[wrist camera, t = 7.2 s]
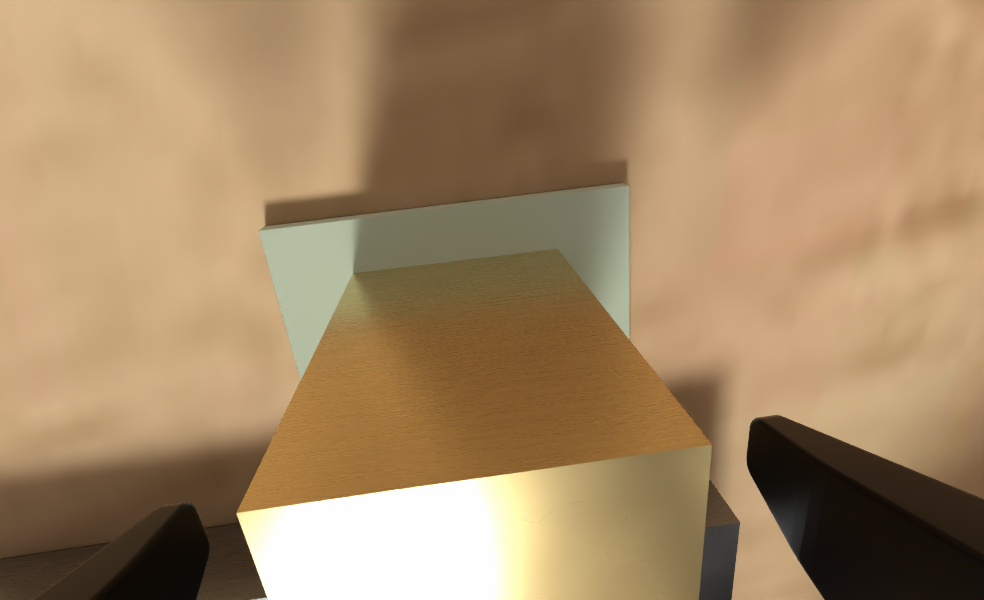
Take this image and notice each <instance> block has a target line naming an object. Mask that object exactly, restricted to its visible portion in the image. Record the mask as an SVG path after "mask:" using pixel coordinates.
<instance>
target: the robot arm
mask: <svg viewBox="0 0 984 600" xmlns="http://www.w3.org/2000/svg"><path fill="white" fill-rule="evenodd" d="M747 466H748V469H749V472H750V474H751V476H752V478H753V480H754V482H755V483H756V485H757V487H758V489H759V491H760V493H761V494H762V496H763V498H764V500H765V502H766V503H767V505H768V507H769V509H770V511H771V513H772V514H773V516H774V518H775V520H776V522H777V523H778V525H779V527H780V529H781V531H782V533H783V534H784V536H785V538H786V540H787V542H788V543H789V545H790V547H791V549H792V550H793V552H794V554H795V556H796V557H797V559H798V561H799V562H800V564H801V565H802V567H803V568H804V570H805V571H806V573H807V574H808V576H809V577H810V579H811V580H812V582H813V583H814V585H815V586H816V588H817V589H818V591H819V592H820V594H821V595H822V597H823V598H824V599H825V600H984V499H982V498H979V497H977V496H974V495H972V494H970V493H967V492H965V491H962V490H960V489H957V488H955V487H953V486H950V485H948V484H945V483H943V482H940V481H938V480H936V479H933V478H931V477H928V476H926V475H923V474H921V473H919V472H916V471H914V470H911V469H909V468H906V467H904V466H902V465H899V464H897V463H894V462H892V461H889V460H887V459H885V458H882V457H880V456H877V455H875V454H872V453H870V452H868V451H865V450H863V449H860V448H858V447H855V446H853V445H850V444H848V443H846V442H843V441H841V440H838V439H836V438H833V437H831V436H829V435H826V434H824V433H821V432H819V431H816V430H814V429H812V428H809V427H807V426H804V425H802V424H799V423H797V422H795V421H792V420H790V419H787V418H785V417H782V416H779V415H773V416H766V417H759V418H755V419H754V420H753V421H752V422H751V425H750V431H749V440H748V449H747ZM208 557H209V540H208V537H207V535H206V532H205V530H204V528H203V525H202V523H201V520H200V518H199V516H198V513H197V511H196V509H195V507H194V506H193V505H192V504H191V503H189V502H181V503H174V504H167V505H163V506H160V507H158V508H157V509H156V510H154V511H153V512H151V513H150V514H149V515H147V516H146V517H145V518H143V519H142V520H141V521H139V522H138V523H137V524H135V525H134V526H133V527H131V528H130V529H128V530H127V531H126V532H124V533H123V534H122V535H120V536H119V537H118V538H116V539H115V540H114V541H112V542H111V543H109V544H108V545H107V546H105V547H104V548H103V549H101V550H100V551H99V552H97V553H96V554H95V555H93V556H92V557H90V558H89V559H88V560H86V561H85V562H84V563H82V564H81V565H80V566H78V567H77V568H76V569H74V570H73V571H71V572H70V573H69V574H67V575H66V576H65V577H63V578H62V579H61V580H59V581H58V582H57V583H55V584H54V585H52V586H51V587H50V588H48V589H47V590H46V591H44V592H43V593H42V594H40V595H39V596H38V597H36V598H35V599H33V600H197V597H198V593H199V590H200V586H201V582H202V579H203V575H204V572H205V568H206V564H207V561H208Z"/></svg>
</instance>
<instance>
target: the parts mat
mask: <svg viewBox="0 0 984 600" xmlns="http://www.w3.org/2000/svg"><path fill="white" fill-rule="evenodd" d="M629 216H630V186H629V185H627V184H625V183H618V184H610V185H602V186H594V187H585V188H577V189H569V190H561V191H552V192H544V193H536V194H528V195H519V196H511V197H503V198H495V199H486V200H478V201H470V202H462V203H453V204H445V205H437V206H429V207H420V208H412V209H404V210H396V211H387V212H379V213H371V214H363V215H354V216H346V217H338V218H330V219H321V220H313V221H305V222H297V223H288V224H280V225H272V226H264V227H263V228H262V229H260V230H259V235H260V238H261V242H262V245H263V249H264V252H265V256H266V259H267V263H268V267H269V270H270V274H271V277H272V281H273V284H274V288H275V291H276V295H277V298H278V302H279V305H280V309H281V312H282V316H283V319H284V323H285V327H286V330H287V334H288V337H289V341H290V344H291V348H292V351H293V355H294V358H295V362H296V365H297V369H298V372H299V376H300V379H302V377H303V375H304V373H305V371H306V369H307V367H308V364H309V362H310V360H311V358H312V356H313V354H314V352H315V350H316V348H317V346H318V344H319V342H320V340H321V338H322V336H323V334H324V332H325V330H326V327H327V325H328V323H329V321H330V319H331V317H332V315H333V313H334V311H335V309H336V307H337V305H338V303H339V301H340V299H341V297H342V295H343V293H344V290H345V288H346V286H347V284H348V282H349V280H350V278H351V276H352V274H353V273H359V272H367V271H376V270H384V269H392V268H401V267H409V266H417V265H426V264H434V263H443V262H451V261H459V260H468V259H476V258H484V257H493V256H501V255H510V254H518V253H526V252H535V251H543V250H552V249H558V250H559V251H560V252H561V254H562V255H563V256H564V257H565V259H566V260H567V261H568V262H569V264H570V265H571V266H572V268H573V269H574V270H575V271H576V273H577V274H578V275H579V276H580V278H581V279H582V280H583V282H584V283H585V284H586V285H587V287H588V288H589V289H590V290H591V292H592V293H593V294H594V295H595V297H596V298H597V299H598V301H599V302H600V303H601V304H602V306H603V307H604V308H605V309H606V311H607V312H608V313H609V314H610V316H611V317H612V318H613V320H614V321H615V322H616V323H617V325H618V326H619V327H620V328H621V330H622V331H623V332H624V333H625V335H626V336H627V337H628V339H629Z"/></svg>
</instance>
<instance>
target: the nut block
mask: <svg viewBox="0 0 984 600" xmlns="http://www.w3.org/2000/svg"><path fill="white" fill-rule="evenodd" d="M711 453H712V444H711V443H710V441H709V440H708V439H707V437H706V436H705V435H704V434H703V432H702V431H701V430H700V429H699V427H698V426H697V425H696V424H695V422H694V421H693V420H692V418H691V417H690V416H689V415H688V413H687V412H686V411H685V410H684V408H683V407H682V406H681V404H680V403H679V402H678V401H677V399H676V398H675V397H674V396H673V394H672V393H671V392H670V391H669V389H668V388H667V387H666V385H665V384H664V383H663V382H662V380H661V379H660V378H659V377H658V375H657V374H656V373H655V372H654V370H653V369H652V368H651V366H650V365H649V364H648V363H647V361H646V360H645V359H644V358H643V356H642V355H641V354H640V353H639V351H638V350H637V349H636V347H635V346H634V345H633V344H632V342H631V341H630V340H629V339H628V337H627V336H626V335H625V333H624V332H623V331H622V330H621V328H620V327H619V326H618V325H617V323H616V322H615V321H614V320H613V318H612V317H611V316H610V314H609V313H608V312H607V311H606V309H605V308H604V307H603V306H602V304H601V303H600V302H599V301H598V299H597V298H596V297H595V295H594V294H593V293H592V292H591V290H590V289H589V288H588V287H587V285H586V284H585V283H584V282H583V280H582V279H581V278H580V276H579V275H578V274H577V273H576V271H575V270H574V269H573V268H572V266H571V265H570V264H569V262H568V261H567V260H566V259H565V257H564V256H563V255H562V254H561V252H560V251H559V250H558V249H552V250H543V251H535V252H526V253H518V254H510V255H501V256H493V257H484V258H476V259H468V260H459V261H451V262H443V263H434V264H426V265H417V266H409V267H401V268H392V269H384V270H376V271H367V272H359V273H353V274H352V276H351V278H350V280H349V282H348V284H347V286H346V288H345V290H344V293H343V295H342V297H341V299H340V301H339V303H338V305H337V307H336V309H335V311H334V313H333V315H332V317H331V319H330V321H329V323H328V325H327V327H326V330H325V332H324V334H323V336H322V338H321V340H320V342H319V344H318V346H317V348H316V350H315V352H314V354H313V356H312V358H311V360H310V362H309V364H308V367H307V369H306V371H305V373H304V375H303V377H302V379H301V381H300V383H299V385H298V387H297V389H296V391H295V393H294V395H293V397H292V399H291V401H290V404H289V406H288V408H287V410H286V412H285V414H284V416H283V418H282V420H281V422H280V424H279V426H278V428H277V430H276V432H275V434H274V436H273V439H272V441H271V443H270V445H269V447H268V449H267V451H266V453H265V455H264V457H263V459H262V461H261V463H260V465H259V467H258V469H257V471H256V473H255V476H254V478H253V480H252V482H251V484H250V486H249V488H248V490H247V492H246V494H245V496H244V498H243V500H242V502H241V504H240V506H239V508H238V510H237V513H236V514H237V517H238V519H239V522H240V525H241V527H242V530H243V533H244V535H245V538H246V541H247V543H248V546H249V549H250V552H251V554H252V557H253V560H254V562H255V565H256V568H257V570H258V573H259V576H260V578H261V581H262V584H263V587H264V589H265V592H266V595H267V597H268V600H699V591H700V580H701V568H702V557H703V545H704V534H705V522H706V511H707V499H708V488H709V476H710V465H711Z"/></svg>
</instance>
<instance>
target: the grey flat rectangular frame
mask: <svg viewBox="0 0 984 600" xmlns="http://www.w3.org/2000/svg"><path fill="white" fill-rule="evenodd" d="M739 526H740V522H739V520H738V519H737V517H736V516H735V515H734V513H733V512H732V510H731V509H730V507H729V506H728V505H727V503H726V502H725V500H724V499H723V498H722V496H721V495H720V493H719V492H718V491H717V489H716V488H715V486H714V485H713V484H712V482H711V481H710V479H709V488H708V499H707V511H706V522H705V534H704V545H703V557H702V568H701V580H700V591H699V600H731V598H732V589H733V580H734V571H735V562H736V553H737V544H738V535H739ZM204 530H205V532H206V535H207V537H208V540H209V557H208V561H207V564H206V568H205V572H204V575H203V579H202V582H201V586H200V590H199V593H198V597H197V600H268V597H267V595H266V592H265V589H264V587H263V584H262V581H261V578H260V576H259V573H258V570H257V568H256V565H255V562H254V560H253V557H252V554H251V552H250V549H249V546H248V543H247V541H246V538H245V535H244V533H243V530H242V527H241V525H240V523H238V524H232V525H225V526H219V527H212V528H205V529H204ZM108 544H109V543H106V544H100V545H93V546H86V547H80V548H73V549H66V550H60V551H53V552H47V553H40V554H33V555H27V556H20V557H14V558H7V559H0V600H33V599H35V598H36V597H38V596H39V595H40V594H42V593H43V592H44V591H46V590H47V589H48V588H50V587H51V586H52V585H54V584H55V583H57V582H58V581H59V580H61V579H62V578H63V577H65V576H66V575H67V574H69V573H70V572H71V571H73V570H74V569H76V568H77V567H78V566H80V565H81V564H82V563H84V562H85V561H86V560H88V559H89V558H90V557H92V556H93V555H95V554H96V553H97V552H99V551H100V550H101V549H103V548H104V547H105V546H107V545H108Z"/></svg>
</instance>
